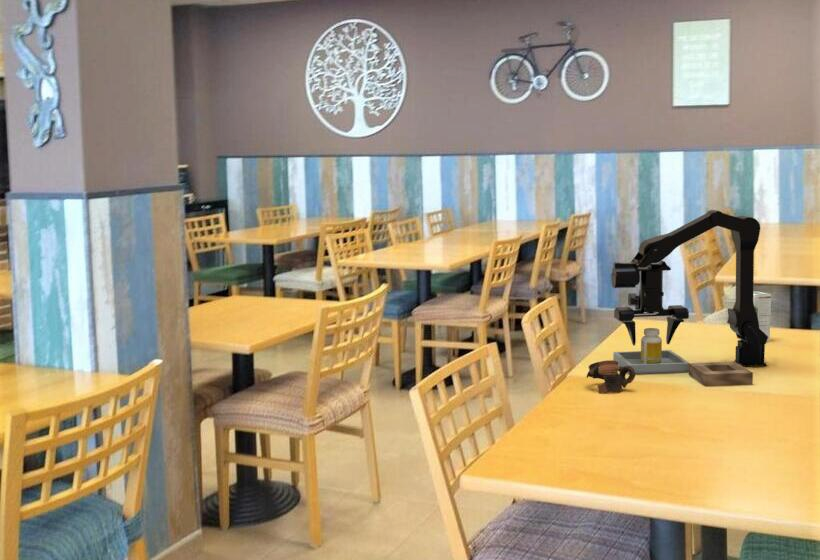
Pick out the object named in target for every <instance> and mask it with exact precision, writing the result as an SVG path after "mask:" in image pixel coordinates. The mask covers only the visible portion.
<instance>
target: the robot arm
mask: <svg viewBox="0 0 820 560" xmlns="http://www.w3.org/2000/svg"><path fill="white" fill-rule="evenodd" d="M715 227H720V228H724V229H727V230H730V235H731V240H732V242H733V246H734V248H735V303H734V305H733V308H727V315H728V318H727V322H726V323H727V324H728V325H729V329H731V331H732V332H734V333H735V335H736V338H737V339H738V340H737V345H736V346H735V359H734V362H736V363H738V364H739V365H741V366H743V367H758V366H759V367H764V366H768V363H767V362H765V354H766V353H765V349H766V344H767V343H768V342H767V339H768V336H767V335H766V334H765V333H764V332H763V331H762V330H760V329H759V322H758V316H757V313H756V310H755V307H754V303H753V291H754V286H755V285H754V276H755V275H754V274H755V271H754V267H755V266H754V265H755V264H754V263H755V261H754V260H755V249H756V246H757V244H758V242H759V239H760V233H761V223H760V222H759V221H758V220H757V219H756V218H754V217H751V216H748V215H746V216H745V215H737V216H735V215H734V216H733V215H731V214H727V213H724V212H722V211H720V210H717V209H711V210H708V211H707V212H706V213H704V214H702V215H700V216H699V217H697V218H695V219H693V220H691V221H689V222H687V223H685V224H684V225H682V226H680V227H678V228H676V229H674V230H671V231H670V232H668V233H664V234H660V235H656V236H654V237H651V238H647V239H645V240H643V241H641V242H640V244H639V246H638V252H637V253H636V254H635V256H634V257H633V258H632V259H631V261H630V262H618V261H617V262H616V261H615V262H613V265H612V270H611V273H610V281H611V287H612V288H613V289H632V288H636V286H638V285H639V284H640V285H639V286H640V288H639V292H638V295H637V293H636V292H632V293H628V294H627V304H628V306H622V307H621V306H619V307H618V306H617V307H615V309H614V311H613V314H614V315H613V317H614V318H615V319H616V320H617V321H618V322H621V323H622V324H624V325H625V327H626V329H627V332H628V335H629V337H630V340H631V344H632V346H636V341H637V339H636V333H637V332H636V321H634V318H641V317H643V318H644V317H645V318H647V317H666V322H667V325H666V338H665V339H666V340H665V341H666V345H670V343H671V341H672V339H673V337H674V335H675V333H676V331H677V329H678V327H679V325H680V324H681V323H684V322H685V320H687V319H689V318H690V315H689V314H690V312H689V309H688V308H687V307H685V306H683V305H681V304H678V305H677V304H676V305H672V304H671V305H668V307H667V308H664V307H663V297H664V296H665V295H664V294H665V293H664V291H663V289H664V288H663V286H664V285H663V283H664V282H663V278H664V276H663V274H664V273H663V272H665V271H671V270H672V268H671V267H670V266H669V265H667V263H666V261H665V260H664V259H665V258H667V257H668V256H669V255H671V253H672V252H673V251H674V250H676V249H677V248H678V247H679V246H682V245H684V244H685V243H688V242H689V241H691V240H692V239H695V238H697V237H699V236H700V235H702V234H704V233H707V232H708V231H710V230H712V229H714V228H715ZM630 306H631V307H633V306H634V309H633V308H631V307H630Z"/></svg>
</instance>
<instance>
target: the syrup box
mask: <svg viewBox="0 0 820 560" xmlns="http://www.w3.org/2000/svg"><path fill="white" fill-rule="evenodd" d="M753 303H754V307H755V310H756V313H757V316H758V322H759V329H760V330H762V331H763V332H764V333H765V334H766V335H767V336H768V339H767V342H766V343H769V342H770V340H771V339H770V336H771V311H772V294H771V293H767V292H761V291H754V290H753Z"/></svg>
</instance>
